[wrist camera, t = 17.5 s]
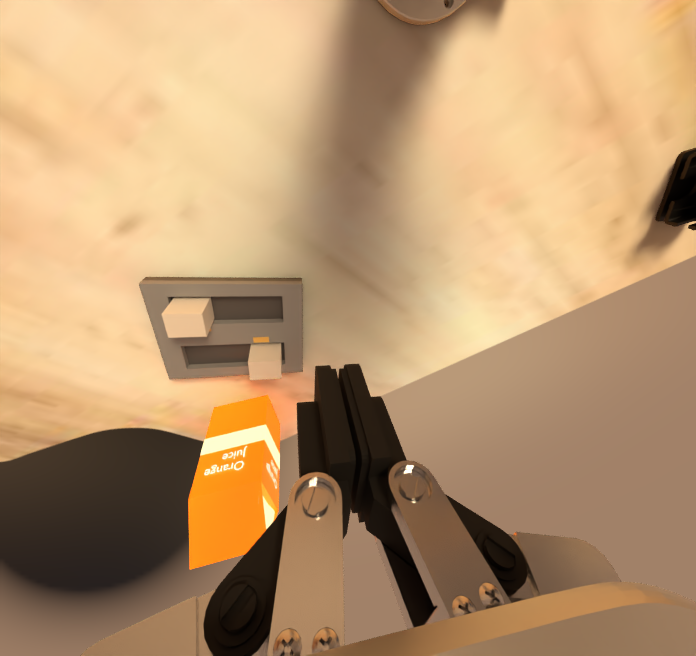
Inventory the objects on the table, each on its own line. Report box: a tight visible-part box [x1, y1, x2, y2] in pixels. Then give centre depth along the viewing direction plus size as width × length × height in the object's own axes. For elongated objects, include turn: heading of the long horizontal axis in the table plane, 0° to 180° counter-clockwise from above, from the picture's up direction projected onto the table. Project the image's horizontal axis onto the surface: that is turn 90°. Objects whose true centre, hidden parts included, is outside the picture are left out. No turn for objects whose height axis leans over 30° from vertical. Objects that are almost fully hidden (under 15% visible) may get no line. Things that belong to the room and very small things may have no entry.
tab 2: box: [248, 343, 282, 380], centre depth 38 cm, size 4×3×4 cm
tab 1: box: [161, 297, 214, 338], centre depth 33 cm, size 4×3×4 cm
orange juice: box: [188, 395, 280, 569], centre depth 40 cm, size 8×9×20 cm
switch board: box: [139, 277, 303, 379], centre depth 38 cm, size 18×14×2 cm
